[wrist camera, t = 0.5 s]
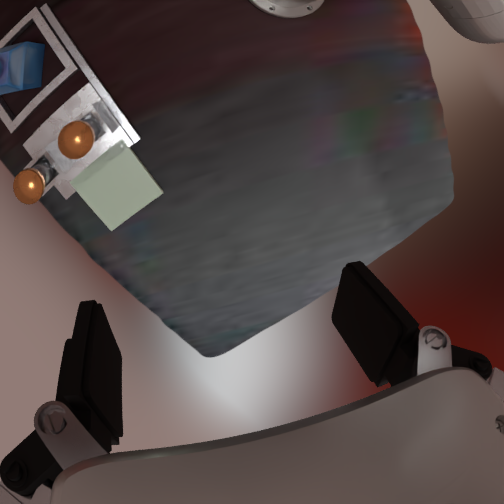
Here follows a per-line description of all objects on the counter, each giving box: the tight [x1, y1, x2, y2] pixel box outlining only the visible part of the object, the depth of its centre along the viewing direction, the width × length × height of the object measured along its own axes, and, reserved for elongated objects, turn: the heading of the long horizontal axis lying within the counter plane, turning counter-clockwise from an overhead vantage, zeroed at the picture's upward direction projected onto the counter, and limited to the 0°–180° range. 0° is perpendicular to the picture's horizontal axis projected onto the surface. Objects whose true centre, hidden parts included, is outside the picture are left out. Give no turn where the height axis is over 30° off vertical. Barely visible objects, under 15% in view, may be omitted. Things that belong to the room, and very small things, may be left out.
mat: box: [69, 139, 163, 231], centre depth 39 cm, size 10×10×1 cm
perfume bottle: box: [0, 42, 45, 95], centre depth 21 cm, size 6×6×12 cm
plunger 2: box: [58, 118, 101, 159], centre depth 28 cm, size 4×4×7 cm
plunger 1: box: [13, 158, 56, 204], centre depth 29 cm, size 4×4×7 cm
